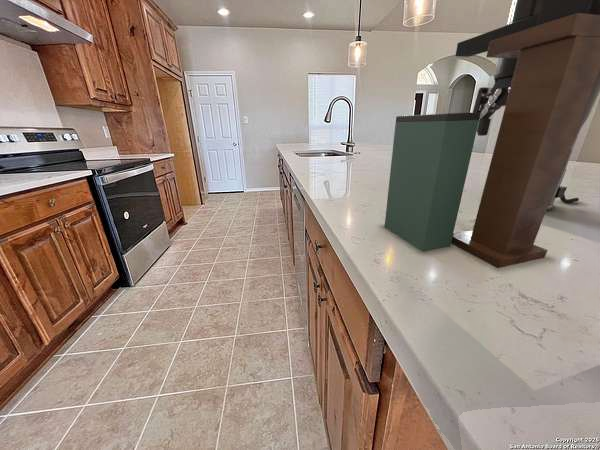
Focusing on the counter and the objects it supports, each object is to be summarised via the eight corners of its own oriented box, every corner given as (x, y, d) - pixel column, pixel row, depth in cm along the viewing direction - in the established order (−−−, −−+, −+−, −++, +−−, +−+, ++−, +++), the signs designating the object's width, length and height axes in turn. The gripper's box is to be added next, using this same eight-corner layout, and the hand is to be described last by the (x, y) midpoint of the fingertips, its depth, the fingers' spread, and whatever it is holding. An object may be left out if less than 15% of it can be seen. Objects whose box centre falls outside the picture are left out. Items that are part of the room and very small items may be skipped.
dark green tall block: (407, 223, 55) (423, 115, 47) (450, 246, 45) (481, 112, 36) (384, 226, 54) (396, 116, 45) (422, 251, 43) (447, 113, 35)
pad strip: (470, 56, 44) (474, 36, 43) (608, 17, 28) (620, -16, 27) (452, 56, 43) (456, 35, 42) (584, 15, 27) (595, -20, 26)
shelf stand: (482, 231, 50) (535, 43, 37) (544, 257, 40) (644, 14, 28) (442, 239, 48) (484, 40, 35) (497, 268, 38) (583, 8, 25)
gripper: (582, 39, 43) (549, 136, 49) (501, 59, 56) (483, 134, 62) (551, 37, 41) (521, 138, 47) (475, 58, 54) (459, 135, 60)
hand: (499, 136), depth 55 cm, fingers open, 8 cm apart
